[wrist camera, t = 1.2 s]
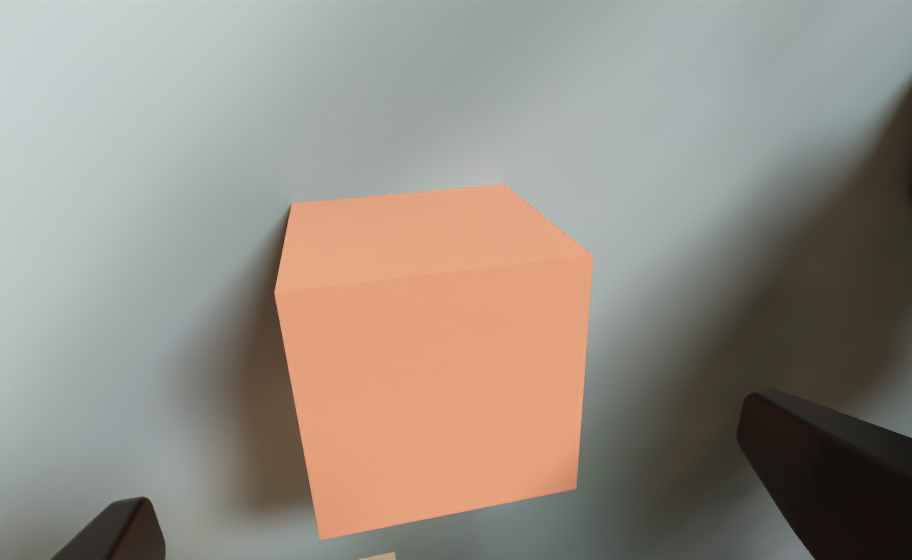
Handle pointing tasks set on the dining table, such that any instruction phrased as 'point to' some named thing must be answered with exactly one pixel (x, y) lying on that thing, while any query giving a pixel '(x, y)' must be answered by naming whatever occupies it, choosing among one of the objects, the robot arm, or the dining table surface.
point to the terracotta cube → (432, 353)
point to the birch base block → (382, 557)
